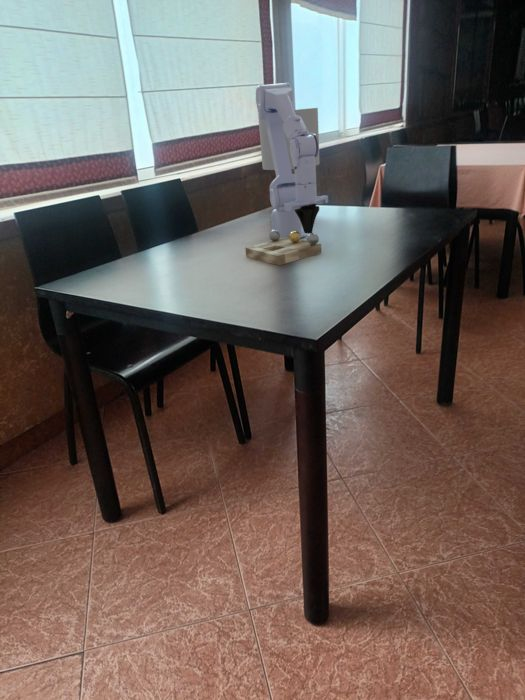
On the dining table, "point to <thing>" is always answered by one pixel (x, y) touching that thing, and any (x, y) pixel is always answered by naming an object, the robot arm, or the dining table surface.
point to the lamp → (312, 126)
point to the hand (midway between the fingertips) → (308, 232)
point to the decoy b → (312, 238)
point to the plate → (282, 251)
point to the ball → (294, 236)
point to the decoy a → (274, 235)
